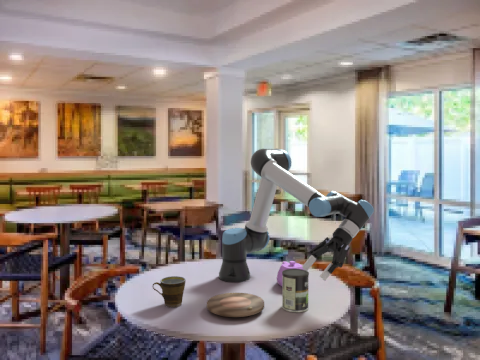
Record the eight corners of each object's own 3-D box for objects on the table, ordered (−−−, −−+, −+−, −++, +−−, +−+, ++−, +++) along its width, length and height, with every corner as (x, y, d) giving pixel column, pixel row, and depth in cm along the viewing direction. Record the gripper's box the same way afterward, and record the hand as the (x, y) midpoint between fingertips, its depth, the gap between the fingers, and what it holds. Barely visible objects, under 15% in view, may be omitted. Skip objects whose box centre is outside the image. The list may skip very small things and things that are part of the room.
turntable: (196, 307, 159) (196, 298, 159) (241, 296, 172) (241, 287, 172) (228, 326, 141) (228, 316, 141) (276, 312, 154) (276, 302, 154)
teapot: (289, 294, 174) (289, 268, 174) (270, 281, 193) (270, 257, 192) (316, 291, 179) (317, 266, 178) (295, 278, 197) (296, 255, 197)
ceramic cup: (184, 299, 168) (184, 275, 168) (186, 308, 159) (186, 282, 158) (152, 301, 166) (152, 277, 165) (152, 310, 156) (152, 285, 155)
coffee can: (309, 303, 163) (309, 269, 162) (308, 313, 153) (308, 276, 152) (283, 302, 165) (283, 267, 164) (280, 311, 155) (280, 275, 154)
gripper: (371, 245, 154) (337, 289, 149) (333, 233, 177) (302, 271, 173) (359, 232, 152) (324, 276, 147) (322, 222, 175) (291, 260, 170)
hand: (312, 273), depth 160 cm, fingers open, 13 cm apart
